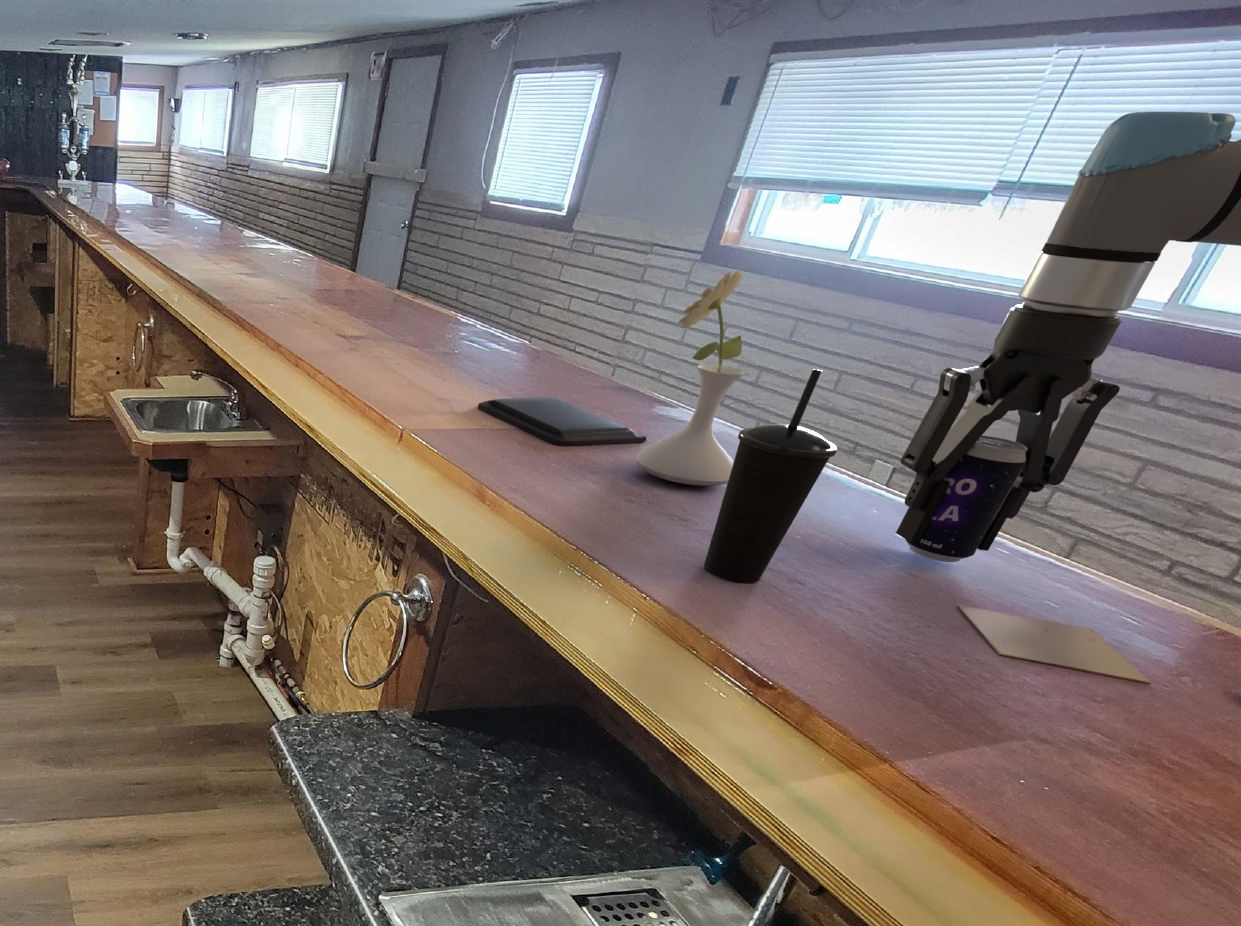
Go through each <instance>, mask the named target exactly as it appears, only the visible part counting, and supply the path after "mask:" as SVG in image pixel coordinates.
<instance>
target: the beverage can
mask: <svg viewBox="0 0 1241 926" xmlns="http://www.w3.org/2000/svg"><path fill="white" fill-rule="evenodd" d="M1027 450H1028V448H1027V447H1026V446H1024V445H1022V444H1020V443H1017V442H1015V441H1013V440H1009V439H1006V438H1000V437H995V436H990V435H982V436H981V437H980V438H979V439H978V440H977V441H976V442H975V443H974V445H973V446H972V447H971V448H970V449H969V450H968V451H967V452H966V453H965V455H964V456H963V457H962V458H961V459H960V460H959V461H958V462H957V463H956V464H955V466H954V467H953V468H952V469H951V470H950V471H949V472H948V473H947V474H946V476H945V477H944V478H943V479H942V480H944V481H946V482H948V483H950V485H949V487H948V489H947V491H946V492H945V494H944V496H943V498H942V500H941V502H940V504H939V506H938V507H937V509H936V511H935V513H934V515H933V517H932V519H931V521H930V522H929V524H928V526H927V528H926V530H925V532H924V534H923V536H922V538H921V539H920V541H919V543H910V542H909V541H907V540H906V539H905V542H906V543H907V545H908V546H909V549H910V551H911V552H913V553H915V554H917V555H919V556H921V557H924V558H927V559H931V560H933V561H934V560H935V561H940V562H945V563H947V562H948V563H957V562H960V561H961V560H963V559H966V558H970V557H972V556H974V555H975V554H976V552H977V550H978V546H979V544H980V543H981V541H982V539H983V537H984V536H985V534H986V532H987V530H988V529H989V527H990V525H991V523H992V522H993V520H994V518H995V516H996V515H997V513H998V511H999V509H1000V508H1001V506H1002V504H1003V502H1004V501H1005V499H1006V497H1007V495H1008V494H1009V492H1010V490H1011V488H1012V487H1013V485H1014V483H1015V481H1016V480H1017V478H1018V476H1019V474H1020V473H1021V471H1022V469H1023V467H1024V466H1025V464H1026V455H1025V452H1026V451H1027Z"/></svg>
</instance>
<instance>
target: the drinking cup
mask: <svg viewBox="0 0 1241 926" xmlns="http://www.w3.org/2000/svg"><path fill="white" fill-rule="evenodd" d="M822 372H823V370H822V369H817V368H813V369H812V370H811V372H810V375H809V377H808V380H807V382H806V384H805V387H804V389H803V392H802V394H801V397H800V399H799V401H798V403H797V406H796V407H795V411H794V413H793V415H792V418H791V420H790V422H789V424H786V423H785V424H784V423H771V424H763V425H759V426H755V427H748V428H743V429H741V430H740V431H739V432H738V435H737V439H738V440H739V443H738V445H737V446H738V447H737V449H736V452H735V457H734V460H733V462H734V463H733V466H732V470H731V473H730V477H729V480H728V483H726V487H725V491H724V495H723V497H722V501H721V504H720V505H721V506H720V508H719V512H718V516H717V519H716V522H715V526H714V529H713V533H712V537H711V539H710V543H709V547H708V550H707V554H706V557H705V560H704V564H703V568H704V570H705V571H706V572H708V573H709V574H710V575H713V576H714V577H717V578H719V579H722V580H725V581H729V582H733V583H740V584H754V583H757V582H759V581H760V579H761V578H762V575H763V574H764V572H765V570H766V569H767V567H768V565H769V563H770V562H771V560H772V558H773V557H774V555H775V553H776V551H777V550H778V548H779V547H780V545H781V543H782V541H783V540H784V538H785V536H786V534H787V533H788V531H789V529H790V527H791V525H792V524H793V522H794V520H795V518H796V517H797V515H798V513H799V512H800V510H801V508H802V506H803V505H804V503H805V501H806V500H807V498H808V496H809V494H810V493H811V491H812V489H813V488H814V486H815V484H816V483H817V480H818V479H819V477H820V475H821V474H822V471H823V470H824V468H825V467H826V465H827V463H828V461H829V460H830V458H833V457H834V456H835V455H836V454H837V452H838V448H837V446H836V445H835V444H834V443H832V442H830V441H828V440H827V439H826V438H824V437H823V436H822V435H820V434H819V433H817V432H815V431H813V430H810V429H808V428H805V427H802V426H799V425H800V423H801V421H802V418H803V416H804V413H805V411H806V409H807V407H808V404H809V402H810V399H811V397H812V395H813V393H814V390H815V387H816V386H817V383H818V382H819V379H820V376H821V374H822Z"/></svg>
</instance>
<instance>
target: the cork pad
mask: <svg viewBox="0 0 1241 926" xmlns="http://www.w3.org/2000/svg"><path fill="white" fill-rule="evenodd" d="M956 607H957V608H958V610H959V611H960V612H961V613H962V614H963V615H964V617H966V619H967V620H968V621H969V622H970V624H971V625H973V627H974V628H975V629H976V630H977V631H978V632H979V634H981V636H982V637H983V638H984V639H985V640H986V641H987V643H988V644H989V645H990V646H991V647H992V648H993V649H994V651H995V652H996V653H997V654H998V655H999V656H1003V657H1007V658H1008V657H1009V658H1014V659H1018V660H1022V661H1023V660H1024V661H1029V662H1033V663H1038V664H1039V663H1040V664H1045V665H1049V666H1054V667H1059V668H1065V669H1070V670H1077V671H1082V672H1086V673H1092V674H1097V675H1102V676H1106V677H1107V676H1108V677H1113V678H1118V679H1122V680H1123V679H1124V680H1127V681H1134V682H1137V683H1143V684H1152V681H1151V680H1150V679H1149V678H1147V676H1145V675H1144V674H1143V673H1142V672H1141V671H1140V670H1138V668H1136V667H1135V666H1134V665H1133V664H1132V663H1131V662H1130V661H1128V660H1127V658H1125V657H1124V656H1123V655H1122V654H1121V653H1120V652H1118V651H1117V650H1116V649H1115V648H1114V647H1113V646H1111V644H1110V643H1108V642H1107V641H1106V640H1105V639H1104V637H1102V636H1101V635H1100V634H1099V633H1097V632H1096V631H1095V630H1094V629H1093V628H1088V627H1084V626H1078V625H1073V624H1067V623H1061V622H1055V621H1051V620H1045V619H1040V618H1039V619H1038V618H1034V617H1028V616H1022V615H1016V614H1010V613H1005V612H1000V611H994V610H988V609H983V608H977V607H971V606H965V605H960V604H957V605H956Z"/></svg>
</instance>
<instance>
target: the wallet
mask: <svg viewBox="0 0 1241 926" xmlns="http://www.w3.org/2000/svg"><path fill="white" fill-rule="evenodd" d="M477 408H478V410H481V411H483V412H485V413H487V414H490V415H492V416H494V417H495V418H498V419H500V420H502V421H504V422H506V423H508V424H511V425H513V426H515V427H517V428H518V429H521V430H523V431H525V432H528V433H529V434H531V435H534V436H535V437H538V438H540V439H542V440H544V441H546V442H548V443H550V444H553V445H555V446H562V445H574V446H592V445H614V444H635V443H646V441H647V439H648V438H647V436H645V435H643V434H640V433H639V432H636V431H634V429H631V428H629V427H628V426H626V425H623V424H621V423H619V422H616V421H613V420H611V419H608V418H606V417H604V416H602V415H599V414H596V413H594V412H591V411H589V410H586V409H584V408H582V407H580V406H576V405H574V404H572V403H570V402H566V401H565V400H562V399H559V398H556V397H519V398H518V397H516V398H511V397H510V398H498V399H489V400H485V401H482V402H479V403H478V404H477Z"/></svg>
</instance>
